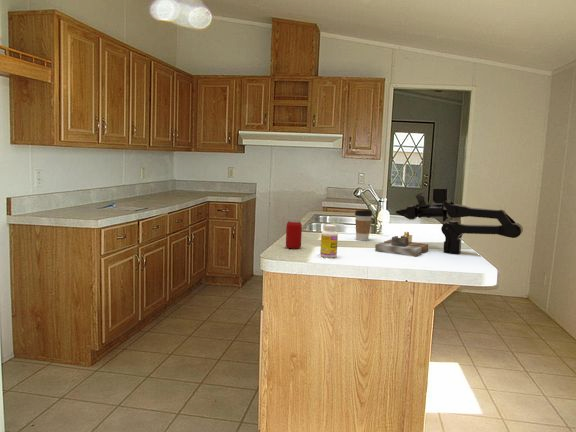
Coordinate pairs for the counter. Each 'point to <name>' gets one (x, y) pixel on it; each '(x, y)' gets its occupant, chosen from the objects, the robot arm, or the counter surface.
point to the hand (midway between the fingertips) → (399, 211)
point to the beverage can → (293, 234)
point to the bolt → (406, 234)
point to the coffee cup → (363, 224)
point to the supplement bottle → (329, 241)
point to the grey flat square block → (401, 247)
